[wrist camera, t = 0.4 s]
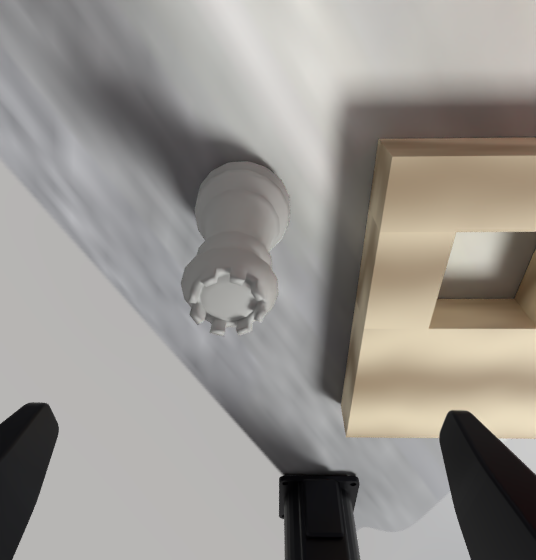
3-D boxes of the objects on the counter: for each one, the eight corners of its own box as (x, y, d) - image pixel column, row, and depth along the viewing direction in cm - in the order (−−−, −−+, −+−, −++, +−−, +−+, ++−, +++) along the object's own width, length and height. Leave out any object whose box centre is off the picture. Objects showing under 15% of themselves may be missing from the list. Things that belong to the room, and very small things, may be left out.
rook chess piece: (183, 218, 20) (135, 325, 13) (223, 138, 17) (190, 218, 11) (261, 257, 21) (254, 374, 14) (308, 187, 19) (326, 287, 12)
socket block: (516, 405, 27) (536, 438, 25) (340, 404, 27) (346, 437, 25) (660, 136, 17) (713, 154, 15) (378, 138, 17) (392, 156, 15)
